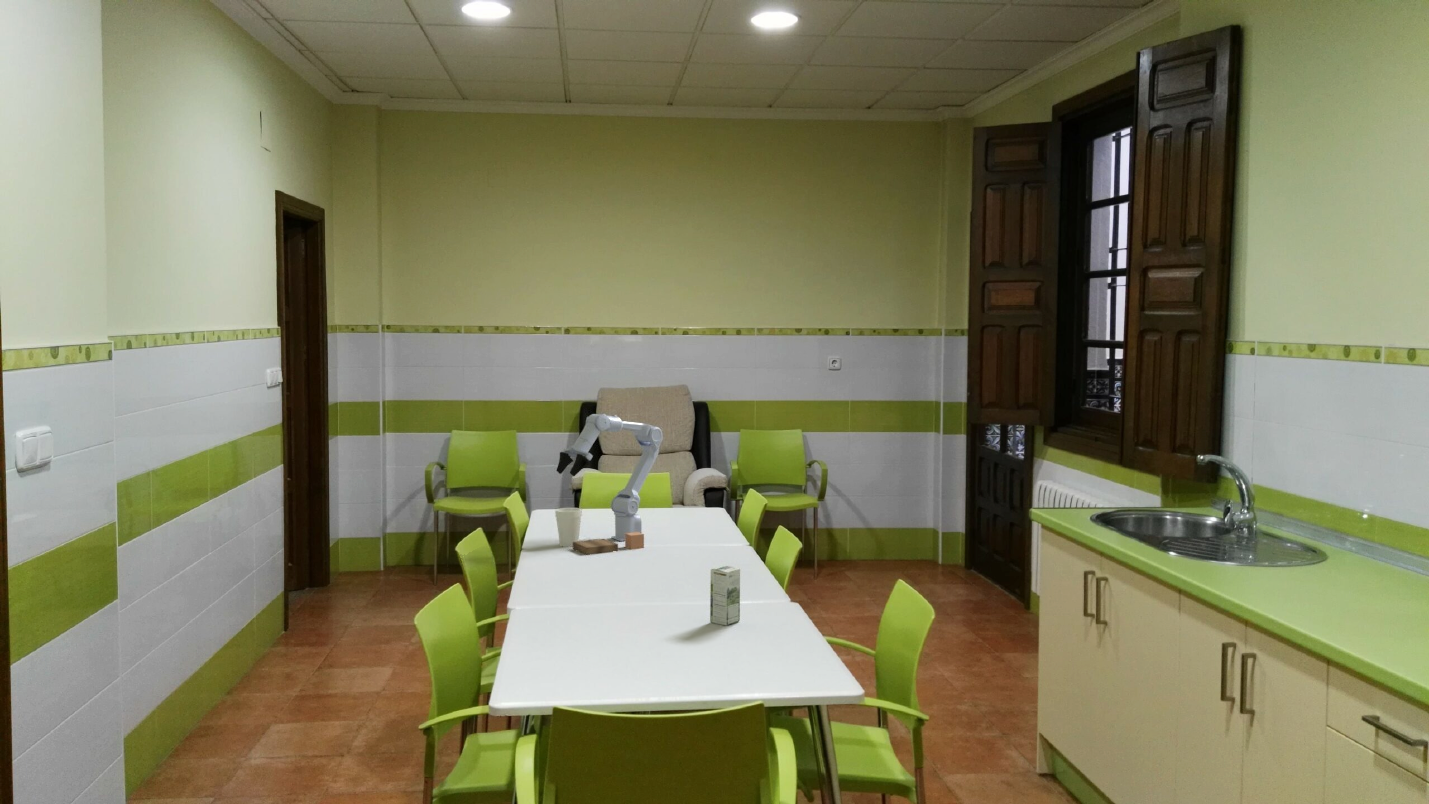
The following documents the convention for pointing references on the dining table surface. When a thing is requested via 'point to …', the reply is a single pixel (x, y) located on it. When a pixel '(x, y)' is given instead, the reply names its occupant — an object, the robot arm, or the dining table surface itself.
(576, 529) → the foam cup
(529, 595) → the dining table surface
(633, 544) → the terracotta block
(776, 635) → the dining table surface
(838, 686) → the dining table surface
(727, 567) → the syrup box
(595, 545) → the walnut plinth
